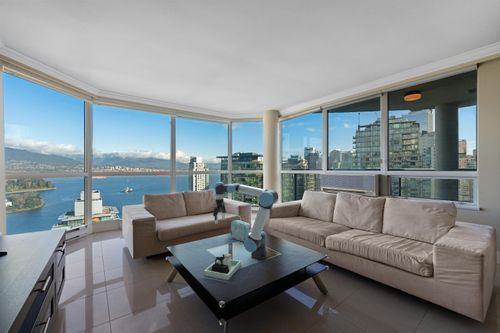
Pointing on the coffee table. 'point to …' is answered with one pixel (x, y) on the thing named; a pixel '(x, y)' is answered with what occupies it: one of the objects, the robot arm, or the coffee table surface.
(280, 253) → the coffee table surface
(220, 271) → the sculpture
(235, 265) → the tote
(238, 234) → the lunch box
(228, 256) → the jar
